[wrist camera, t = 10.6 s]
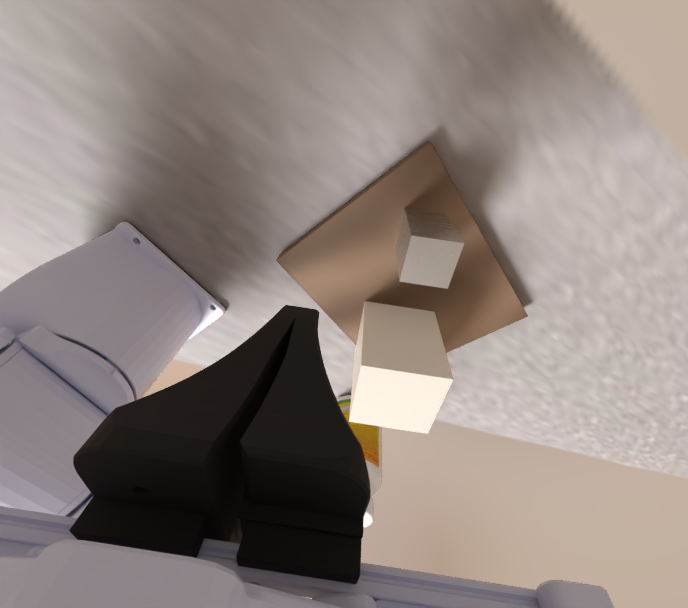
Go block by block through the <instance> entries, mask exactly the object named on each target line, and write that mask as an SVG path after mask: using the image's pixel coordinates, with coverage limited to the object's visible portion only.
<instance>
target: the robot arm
mask: <svg viewBox="0 0 688 608" xmlns="http://www.w3.org/2000/svg"><path fill="white" fill-rule="evenodd" d="M136 238H137V239H139V241H140V242H139V241H137V239H136ZM212 305H214V306H215V307H216V308H215V307H213V306H212ZM224 313H225V308H224V307H223V306H222V305H221V304H220V303H219V302H217V301H216V300H215V299H214V298H213V297H212V296H211V295H210V294H208V293H207V292H206V291H205V290H204V289H203V288H202V287H201V286H199V285H198V284H197V283H196V282H195V281H194V280H193V279H192V278H190V277H189V276H188V275H187V274H186V273H185V272H184V271H183V270H181V269H180V268H179V267H178V266H177V265H176V264H175V263H174V262H172V261H171V260H170V259H169V258H168V257H167V256H166V255H165V254H163V253H162V252H161V251H160V250H159V249H158V248H157V247H156V246H154V245H153V244H152V243H151V242H150V241H149V240H148V239H147V238H145V237H144V236H143V235H142V234H141V233H140V232H139V231H137V230H136V229H135V228H134V227H133V226H132V225H131V224H129V223H128V222H121V223H119V224H118V225H117V226H116V227H115V228H114V230H112V231H110V232H108V233H106V234H104V235H102V236H99V237H97V238H95V239H93V240H91V241H89V242H87V243H85V244H83V245H81V246H79V247H77V248H75V249H73V250H71V251H69V252H67V253H65V254H63V255H61V256H59V257H57V258H55V259H53V260H51V261H49V262H47V263H45V264H43V265H41V266H39V267H37V268H36V269H34V270H32V271H30V272H29V273H27V274H26V275H24V276H22V277H21V278H19V279H18V280H16V281H15V282H13V283H12V284H10V285H9V286H8V287H6V288H5V289H3V290H2V291H1V292H0V608H614V606H613V604H612V602H611V599H610V597H609V595H608V593H607V591H606V590H605V589H604V588H603V587H600V586H595V585H589V584H582V583H576V582H569V581H563V580H550V581H546V582H543V583H542V584H540V585H539V586H538V587H537V588H536V590H533V589H527V588H521V587H514V586H507V585H501V584H495V583H489V582H482V581H476V580H470V579H463V578H457V577H450V576H444V575H438V574H431V573H425V572H418V571H412V570H405V569H399V568H393V567H386V566H380V565H373V564H367V563H361V561H360V560H361V559H360V558H361V538H362V537H363V519H364V515H365V512H366V509H367V507H368V504H369V501H370V495H371V489H370V480H369V474H368V469H367V465H366V460H365V457H364V453H363V449H362V446H361V444H360V442H359V441H358V439H357V438H356V436H355V434H354V433H353V431H352V429H351V427H350V426H349V424H348V422H347V420H346V418H345V416H344V414H343V413H342V410H341V408H340V406H339V404H338V402H337V399H336V397H335V395H334V393H333V390H332V388H331V385H330V382H329V380H328V377H327V374H326V370H325V367H324V364H323V360H322V355H321V351H320V345H319V339H318V319H319V312H318V311H317V310H315V309H309V308H302V307H296V306H289V305H286V306H284V307H283V308H282V309H281V310H280V311H279V312H278V313H277V314H276V315H275V316H274V317H273V318H272V319H271V320H270V321H269V322H267V323H266V324H265V325H264V326H263V327H262V328H261V329H260V330H259V331H257V332H256V333H255V334H254V335H253V336H252V337H250V338H249V339H248V340H246V341H245V342H244V343H243V344H241V345H240V346H239V347H237V348H236V349H235V350H233V351H232V352H231V353H229V354H228V355H226V356H225V357H223V358H222V359H220V360H219V361H217V362H215V363H214V364H212V365H210V366H209V367H207V368H205V369H203V370H202V371H200V372H198V373H196V374H194V375H192V376H191V377H189V378H187V379H185V380H183V381H181V382H178V383H176V384H174V385H172V386H170V387H168V388H165V389H163V390H161V391H158V392H156V393H154V394H151V395H149V396H146V397H143V396H144V394H145V393H146V392H147V391H148V389H149V388H150V387H151V386H152V384H153V383H154V382H155V381H156V379H157V378H158V377H159V376H160V374H161V373H162V372H163V370H164V369H165V368H166V367H167V365H168V364H169V363H170V361H171V360H172V359H173V358H174V356H175V355H176V354H177V353H178V351H179V350H180V349H181V348H182V346H183V345H184V344H185V343H186V342H187V341H189V340H190V339H191V338H193V337H194V336H195V335H197V334H198V333H200V332H201V331H202V330H204V329H205V328H206V327H208V326H209V325H210V324H212V323H213V322H215V321H216V320H217V319H219V318H220V317H221V316H223V314H224ZM142 397H143V398H142ZM301 596H303V597H301ZM305 597H309V598H312V599H308V598H305Z"/></svg>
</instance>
